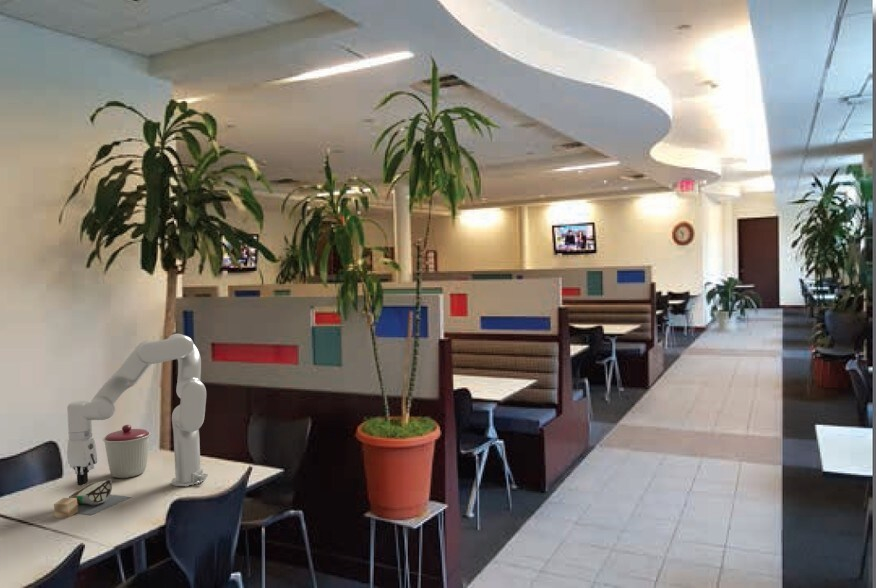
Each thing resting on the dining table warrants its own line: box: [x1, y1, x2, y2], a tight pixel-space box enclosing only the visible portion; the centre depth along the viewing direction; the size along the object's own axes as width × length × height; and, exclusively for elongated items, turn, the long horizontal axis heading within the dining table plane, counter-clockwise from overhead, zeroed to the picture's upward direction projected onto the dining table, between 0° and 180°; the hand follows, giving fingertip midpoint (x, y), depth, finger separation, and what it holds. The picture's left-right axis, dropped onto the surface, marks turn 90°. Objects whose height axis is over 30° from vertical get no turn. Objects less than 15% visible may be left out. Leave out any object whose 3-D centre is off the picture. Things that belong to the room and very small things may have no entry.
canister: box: [102, 424, 152, 479], centre depth 265 cm, size 18×18×21 cm
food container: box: [68, 478, 113, 505], centre depth 232 cm, size 12×6×10 cm
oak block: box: [53, 497, 79, 519], centre depth 221 cm, size 5×5×5 cm
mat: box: [76, 494, 133, 516], centre depth 231 cm, size 12×18×1 cm, turn 161°
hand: (82, 484), depth 233 cm, fingers closed
